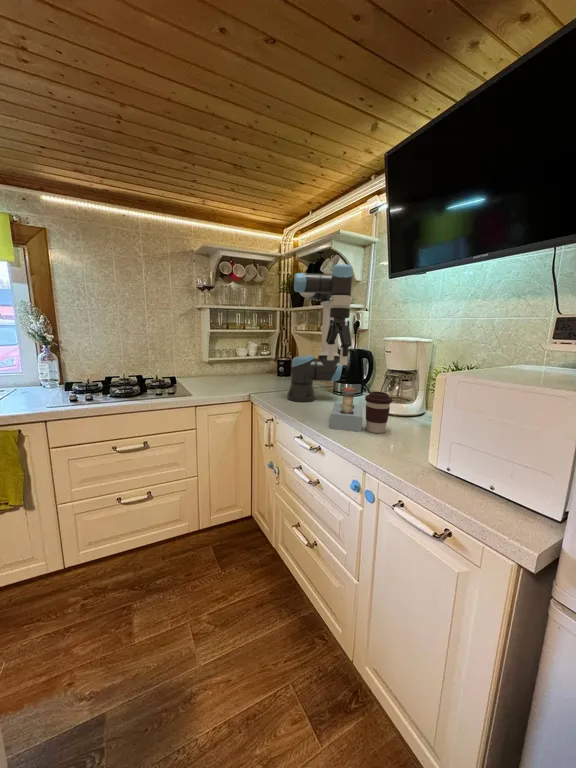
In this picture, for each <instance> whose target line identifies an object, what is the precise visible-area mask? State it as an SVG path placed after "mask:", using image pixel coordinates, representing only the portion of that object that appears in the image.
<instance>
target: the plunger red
mask: <svg viewBox="0 0 576 768" xmlns="http://www.w3.org/2000/svg"><path fill="white" fill-rule="evenodd" d="M346 391H347V392H353V393H354V394H355V391H356V389H355V387H343V392H346ZM354 396H355V395H354ZM354 396H353V398H355V397H354ZM352 409H353V407H352Z"/></svg>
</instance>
